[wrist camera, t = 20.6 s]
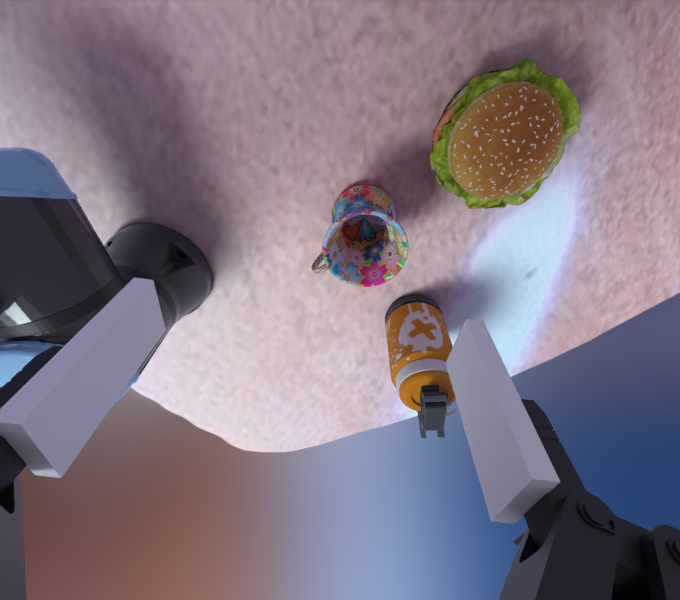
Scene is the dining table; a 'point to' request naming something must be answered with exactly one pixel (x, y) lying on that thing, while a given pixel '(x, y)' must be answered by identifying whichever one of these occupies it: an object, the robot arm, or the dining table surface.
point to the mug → (363, 238)
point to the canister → (420, 359)
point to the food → (503, 135)
